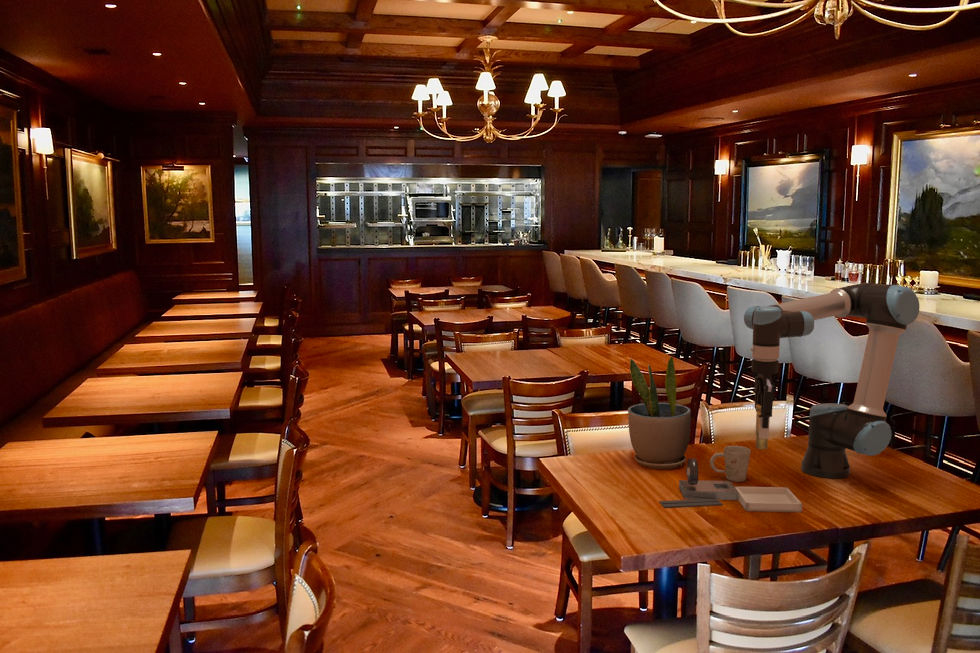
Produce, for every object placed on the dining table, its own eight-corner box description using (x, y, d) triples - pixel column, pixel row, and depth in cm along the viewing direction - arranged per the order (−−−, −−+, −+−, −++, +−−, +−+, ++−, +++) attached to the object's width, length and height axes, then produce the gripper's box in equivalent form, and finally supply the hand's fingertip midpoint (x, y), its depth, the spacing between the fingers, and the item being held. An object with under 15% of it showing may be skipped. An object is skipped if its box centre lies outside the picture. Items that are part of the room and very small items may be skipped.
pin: (766, 445, 239) (768, 403, 238) (770, 449, 235) (772, 407, 233) (752, 445, 240) (754, 403, 238) (755, 449, 236) (757, 407, 234)
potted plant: (614, 462, 278) (616, 349, 272) (652, 450, 291) (655, 342, 286) (663, 477, 262) (666, 357, 256) (701, 463, 276) (705, 350, 270)
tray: (786, 495, 245) (787, 487, 245) (801, 512, 231) (802, 503, 231) (734, 494, 246) (734, 486, 245) (745, 511, 232) (746, 502, 232)
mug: (750, 483, 255) (752, 453, 254) (710, 481, 258) (711, 451, 256) (747, 475, 263) (749, 446, 262) (708, 473, 266) (709, 444, 264)
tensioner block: (730, 488, 251) (731, 455, 249) (738, 500, 241) (739, 465, 239) (679, 487, 252) (680, 454, 250) (684, 499, 242) (686, 464, 240)
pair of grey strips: (716, 499, 241) (716, 498, 241) (722, 505, 237) (722, 504, 237) (659, 502, 239) (659, 501, 239) (664, 507, 235) (664, 506, 234)
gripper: (745, 354, 242) (743, 428, 245) (759, 364, 226) (755, 444, 229) (771, 354, 241) (767, 429, 245) (786, 364, 225) (782, 444, 229)
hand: (762, 436), depth 237 cm, fingers closed on pin, 3 cm apart
